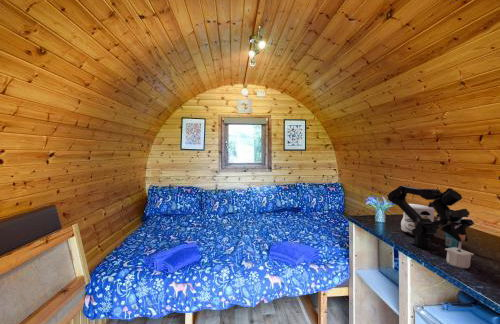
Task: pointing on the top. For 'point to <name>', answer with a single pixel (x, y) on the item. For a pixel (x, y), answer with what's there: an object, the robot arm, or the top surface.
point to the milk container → (422, 210)
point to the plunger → (461, 241)
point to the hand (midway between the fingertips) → (463, 241)
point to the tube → (451, 240)
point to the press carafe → (458, 257)
